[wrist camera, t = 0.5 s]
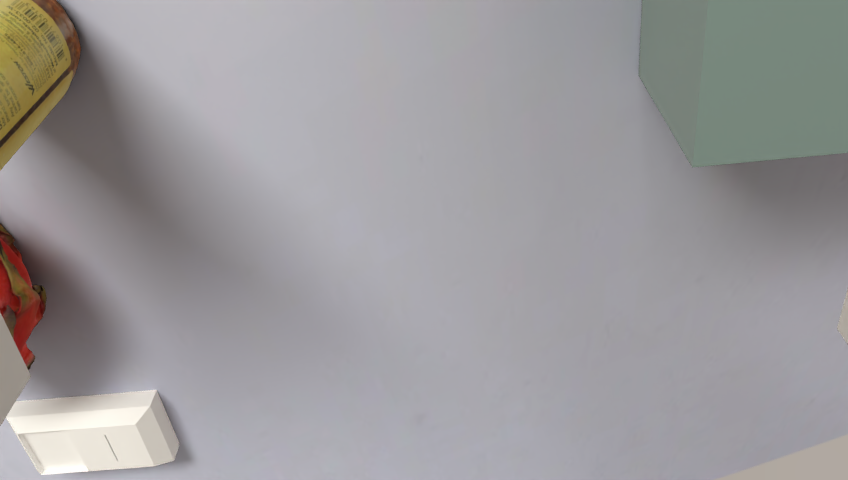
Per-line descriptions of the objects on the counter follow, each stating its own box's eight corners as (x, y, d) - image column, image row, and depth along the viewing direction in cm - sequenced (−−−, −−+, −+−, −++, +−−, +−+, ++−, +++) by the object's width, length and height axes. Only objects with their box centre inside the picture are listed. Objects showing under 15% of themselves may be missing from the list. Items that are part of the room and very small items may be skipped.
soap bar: (181, 438, 51) (170, 471, 49) (48, 448, 51) (32, 481, 49) (158, 384, 48) (146, 416, 46) (18, 396, 49) (-1, 428, 46)
